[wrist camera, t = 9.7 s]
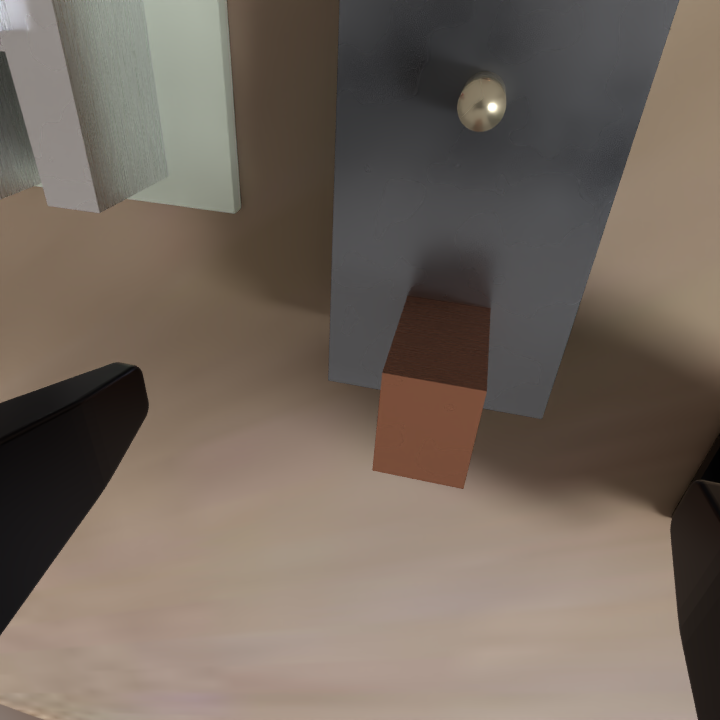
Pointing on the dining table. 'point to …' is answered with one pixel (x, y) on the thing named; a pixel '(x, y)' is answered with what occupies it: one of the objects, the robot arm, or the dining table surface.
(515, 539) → the dining table surface
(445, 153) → the hand plane
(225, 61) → the rubber mat
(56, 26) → the lever cap
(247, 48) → the dining table surface
